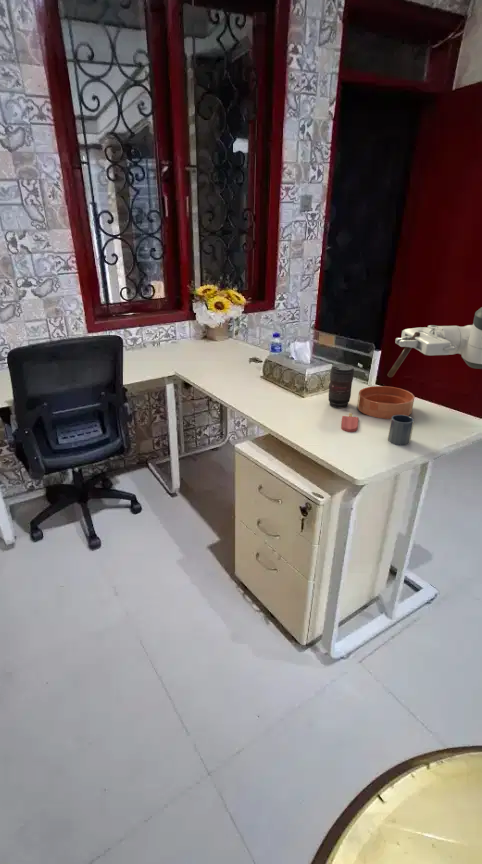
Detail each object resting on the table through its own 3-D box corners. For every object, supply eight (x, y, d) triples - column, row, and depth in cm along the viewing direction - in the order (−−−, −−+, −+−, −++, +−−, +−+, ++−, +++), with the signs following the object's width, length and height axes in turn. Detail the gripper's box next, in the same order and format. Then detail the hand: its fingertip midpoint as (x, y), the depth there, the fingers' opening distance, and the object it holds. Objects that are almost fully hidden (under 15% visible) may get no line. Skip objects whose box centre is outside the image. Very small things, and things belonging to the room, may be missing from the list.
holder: (401, 436, 131) (406, 413, 127) (414, 445, 125) (418, 421, 122) (383, 439, 130) (387, 415, 127) (394, 448, 125) (399, 424, 121)
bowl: (393, 398, 159) (395, 384, 157) (422, 417, 143) (425, 401, 140) (348, 403, 157) (350, 388, 155) (373, 422, 141) (375, 406, 138)
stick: (389, 376, 137) (418, 331, 130) (392, 379, 135) (422, 333, 129) (385, 375, 136) (415, 330, 129) (388, 377, 134) (419, 332, 128)
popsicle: (359, 412, 146) (357, 430, 133) (358, 416, 147) (357, 434, 134) (343, 410, 148) (340, 428, 135) (342, 414, 148) (340, 432, 136)
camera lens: (337, 410, 152) (341, 371, 145) (323, 403, 159) (326, 365, 152) (354, 406, 155) (359, 367, 148) (339, 399, 162) (343, 362, 155)
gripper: (457, 359, 122) (409, 361, 123) (427, 342, 140) (385, 344, 141) (462, 338, 119) (413, 340, 120) (430, 323, 137) (387, 325, 138)
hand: (397, 342), depth 131 cm, fingers closed on stick, 1 cm apart
